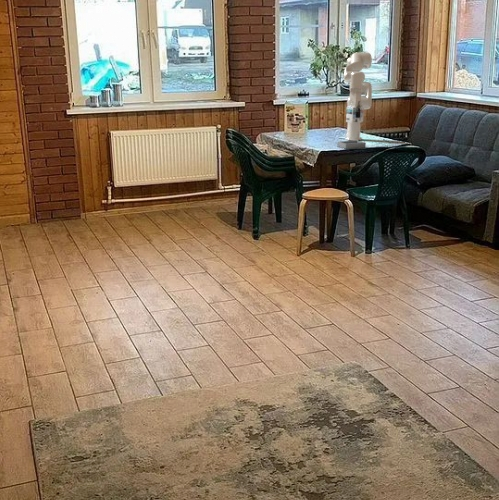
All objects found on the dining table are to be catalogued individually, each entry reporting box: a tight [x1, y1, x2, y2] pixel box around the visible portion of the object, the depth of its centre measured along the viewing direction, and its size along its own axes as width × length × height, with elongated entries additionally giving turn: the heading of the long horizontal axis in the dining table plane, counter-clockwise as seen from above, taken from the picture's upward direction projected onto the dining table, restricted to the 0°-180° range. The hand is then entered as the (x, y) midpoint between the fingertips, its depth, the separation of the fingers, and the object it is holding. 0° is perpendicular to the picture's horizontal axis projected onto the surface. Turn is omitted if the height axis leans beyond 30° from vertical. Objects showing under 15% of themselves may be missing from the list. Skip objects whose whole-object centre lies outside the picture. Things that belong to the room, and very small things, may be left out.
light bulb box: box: [345, 106, 365, 123], centre depth 490 cm, size 11×7×11 cm, turn 126°
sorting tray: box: [337, 140, 367, 150], centre depth 494 cm, size 12×16×4 cm
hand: (354, 117), depth 491 cm, fingers closed on light bulb box, 7 cm apart
